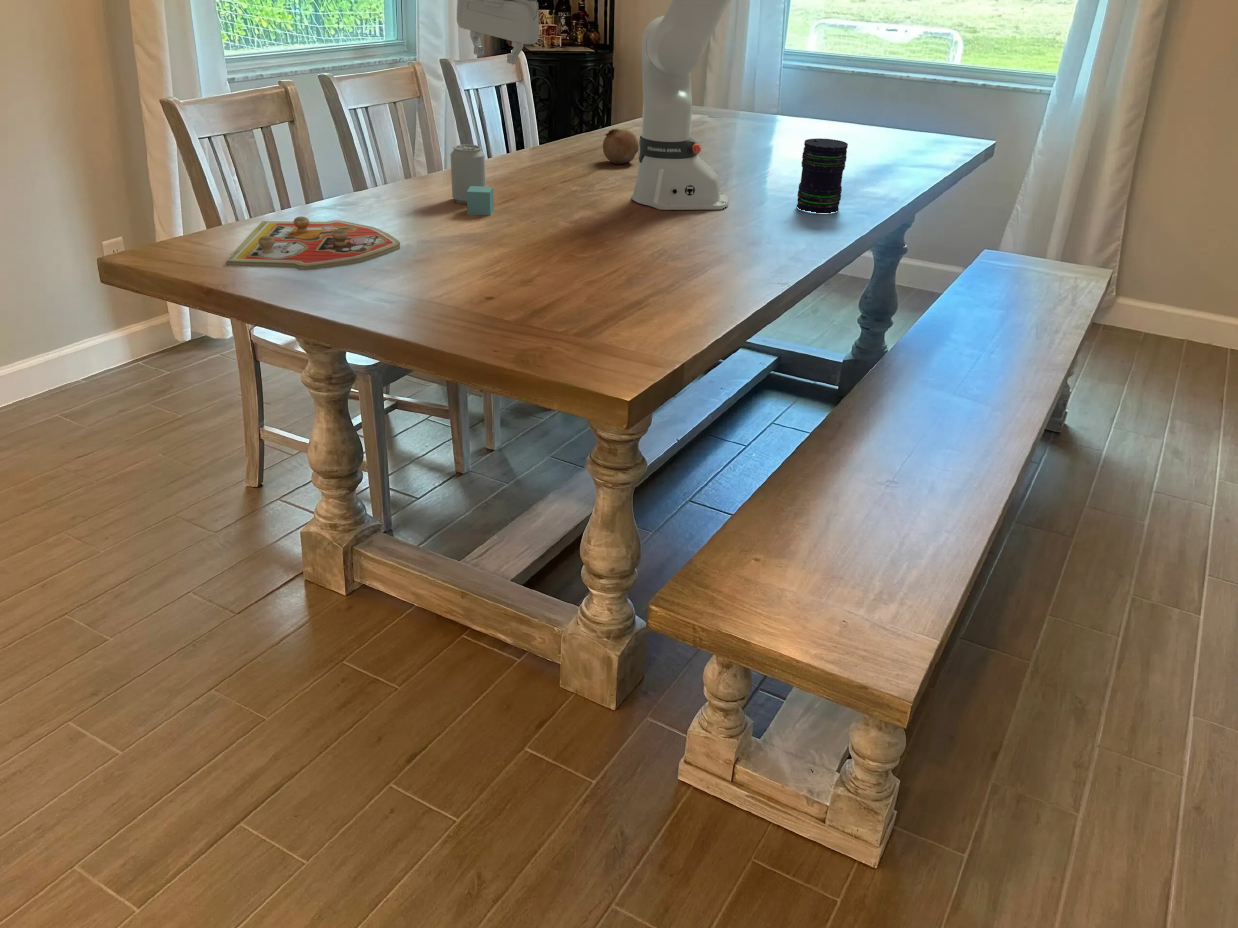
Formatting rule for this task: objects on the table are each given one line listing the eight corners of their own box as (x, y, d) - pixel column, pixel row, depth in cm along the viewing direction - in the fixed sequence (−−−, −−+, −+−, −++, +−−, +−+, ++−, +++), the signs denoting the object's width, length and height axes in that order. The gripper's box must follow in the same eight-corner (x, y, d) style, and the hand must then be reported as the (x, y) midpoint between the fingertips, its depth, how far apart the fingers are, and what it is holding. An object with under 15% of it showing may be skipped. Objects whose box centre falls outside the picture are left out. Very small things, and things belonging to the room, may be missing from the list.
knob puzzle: (263, 227, 204) (260, 205, 202) (409, 229, 206) (408, 207, 204) (223, 272, 179) (219, 247, 177) (390, 274, 181) (388, 249, 179)
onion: (608, 176, 266) (593, 142, 260) (614, 159, 272) (600, 126, 266) (641, 166, 262) (626, 131, 256) (646, 149, 269) (632, 115, 263)
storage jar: (847, 210, 231) (856, 143, 224) (823, 217, 225) (833, 149, 217) (811, 201, 237) (819, 136, 230) (787, 208, 231) (795, 141, 223)
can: (479, 206, 222) (477, 151, 217) (447, 203, 224) (445, 148, 218) (490, 198, 229) (488, 144, 223) (459, 195, 230) (456, 141, 224)
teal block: (493, 209, 221) (493, 187, 218) (490, 215, 216) (489, 192, 214) (471, 208, 221) (470, 186, 218) (467, 214, 216) (466, 191, 214)
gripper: (548, -4, 202) (542, 68, 209) (474, -20, 211) (470, 49, 218) (528, -4, 197) (522, 69, 204) (453, -21, 206) (450, 50, 213)
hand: (495, 59), depth 211 cm, fingers open, 8 cm apart
